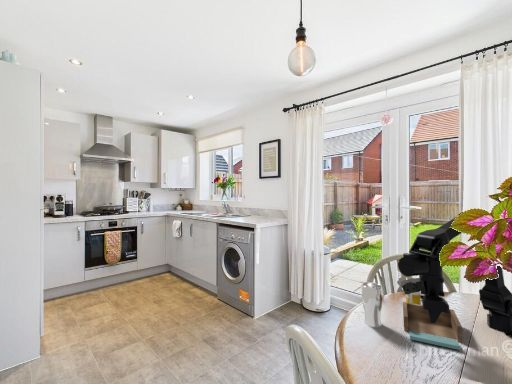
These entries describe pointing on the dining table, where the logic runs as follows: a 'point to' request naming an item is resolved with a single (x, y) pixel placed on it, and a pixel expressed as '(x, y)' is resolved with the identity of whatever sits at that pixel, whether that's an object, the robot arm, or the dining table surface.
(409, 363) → the dining table surface
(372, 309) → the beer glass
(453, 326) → the crate
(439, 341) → the panel
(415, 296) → the supplement bottle
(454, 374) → the dining table surface
